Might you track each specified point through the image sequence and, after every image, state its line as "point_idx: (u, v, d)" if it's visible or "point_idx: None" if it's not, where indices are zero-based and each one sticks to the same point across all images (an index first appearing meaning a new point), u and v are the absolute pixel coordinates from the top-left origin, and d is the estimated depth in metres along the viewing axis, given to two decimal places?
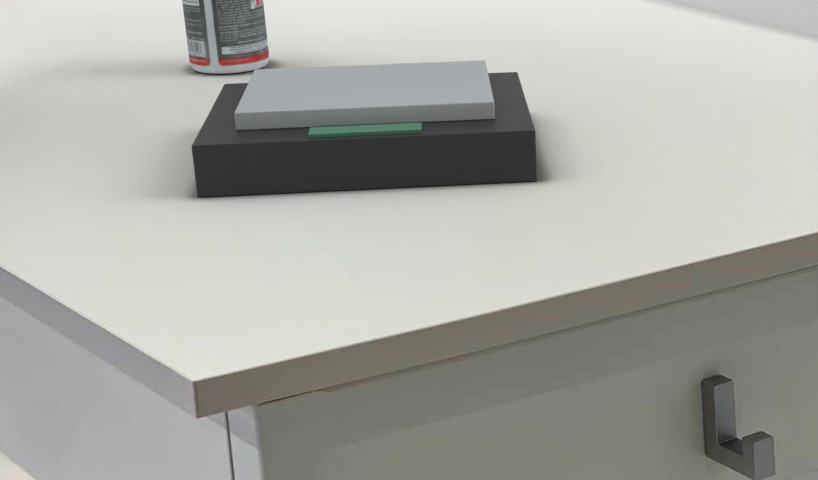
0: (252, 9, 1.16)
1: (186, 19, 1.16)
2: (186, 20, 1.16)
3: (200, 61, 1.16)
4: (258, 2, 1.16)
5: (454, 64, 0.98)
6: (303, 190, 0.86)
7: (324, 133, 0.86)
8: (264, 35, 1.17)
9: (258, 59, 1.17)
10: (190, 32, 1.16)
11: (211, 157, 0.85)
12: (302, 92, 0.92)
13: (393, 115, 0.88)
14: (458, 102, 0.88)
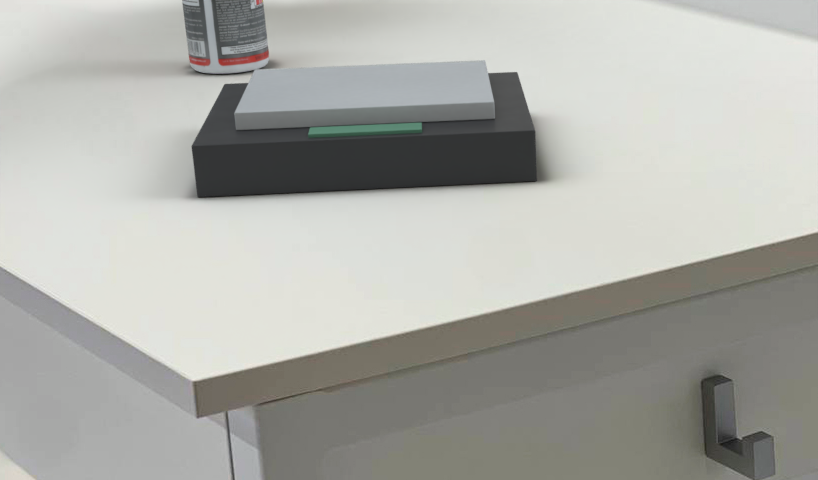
0: (252, 9, 1.16)
1: (186, 19, 1.16)
2: (186, 20, 1.16)
3: (200, 61, 1.16)
4: (258, 2, 1.16)
5: (454, 64, 0.98)
6: (303, 190, 0.86)
7: (324, 133, 0.86)
8: (264, 35, 1.17)
9: (258, 59, 1.17)
10: (190, 32, 1.16)
11: (211, 157, 0.85)
12: (302, 92, 0.92)
13: (393, 115, 0.88)
14: (458, 102, 0.88)
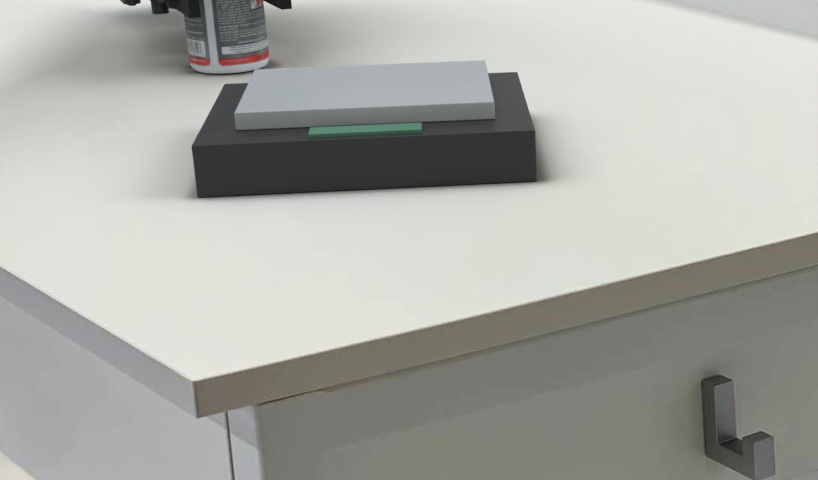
0: (252, 9, 1.16)
1: (186, 19, 1.16)
2: (186, 20, 1.16)
3: (200, 61, 1.16)
4: (258, 2, 1.16)
5: (454, 64, 0.98)
6: (303, 190, 0.86)
7: (324, 133, 0.86)
8: (264, 36, 1.17)
9: (258, 59, 1.17)
10: (190, 32, 1.16)
11: (211, 157, 0.85)
12: (302, 92, 0.92)
13: (393, 115, 0.88)
14: (458, 102, 0.88)
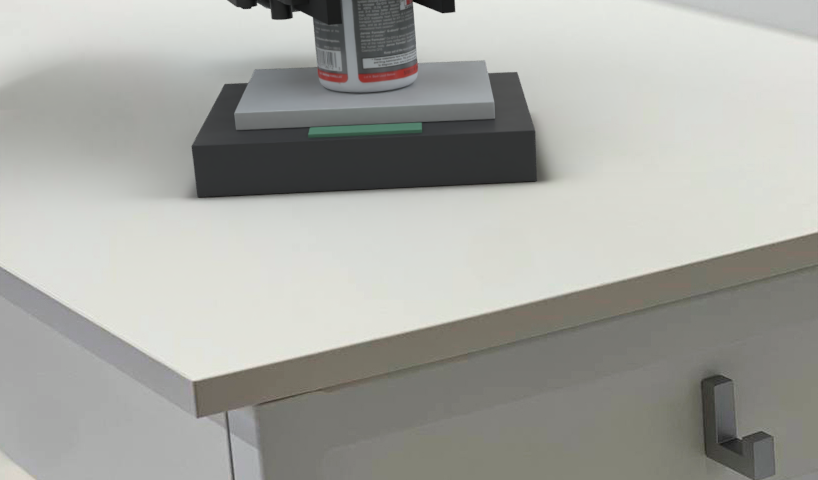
0: (401, 10, 0.90)
1: (317, 23, 0.91)
2: (317, 24, 0.91)
3: (334, 77, 0.91)
4: (408, 1, 0.91)
5: (454, 64, 0.98)
6: (303, 190, 0.86)
7: (324, 133, 0.86)
8: (414, 44, 0.92)
9: (407, 74, 0.92)
10: (322, 40, 0.91)
11: (211, 157, 0.85)
12: (302, 92, 0.92)
13: (393, 115, 0.88)
14: (458, 102, 0.88)
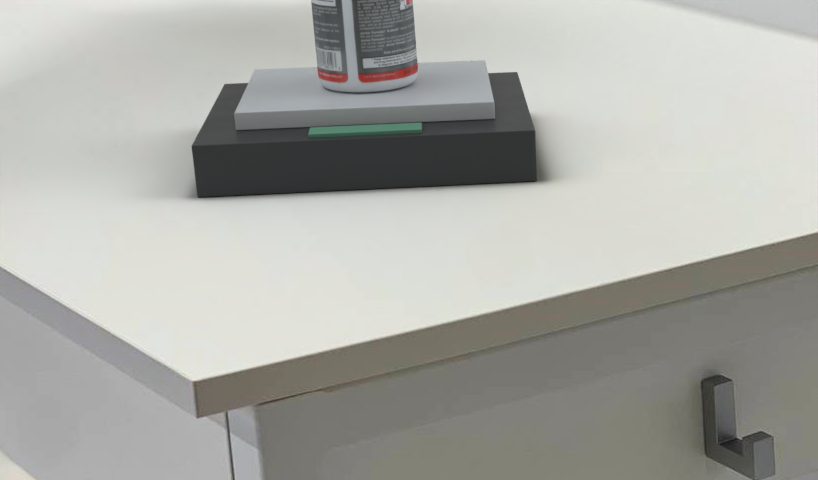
0: (401, 10, 0.90)
1: (317, 23, 0.91)
2: (317, 24, 0.91)
3: (334, 77, 0.91)
4: (408, 1, 0.91)
5: (454, 64, 0.98)
6: (303, 190, 0.86)
7: (324, 133, 0.86)
8: (414, 44, 0.92)
9: (407, 74, 0.92)
10: (322, 40, 0.91)
11: (211, 157, 0.85)
12: (302, 92, 0.92)
13: (393, 115, 0.88)
14: (458, 102, 0.88)
